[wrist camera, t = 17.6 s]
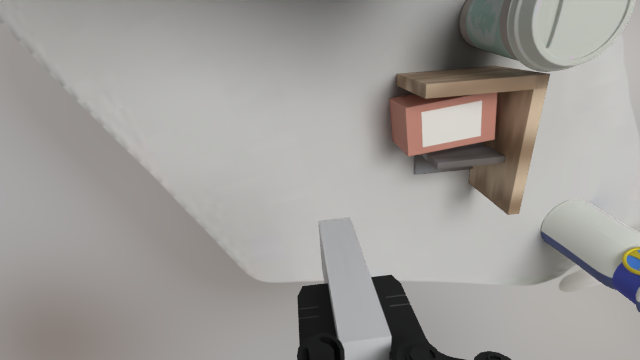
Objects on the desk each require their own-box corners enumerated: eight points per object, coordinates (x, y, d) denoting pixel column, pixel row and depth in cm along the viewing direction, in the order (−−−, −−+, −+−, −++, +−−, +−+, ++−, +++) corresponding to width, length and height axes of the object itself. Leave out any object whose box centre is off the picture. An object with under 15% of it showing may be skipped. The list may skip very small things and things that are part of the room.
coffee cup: (485, -52, 30) (596, -100, 20) (543, 2, 33) (670, -13, 22) (429, 32, 33) (499, 31, 22) (487, 77, 36) (575, 95, 25)
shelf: (396, 74, 34) (426, 84, 27) (495, 65, 35) (549, 73, 28) (393, 190, 40) (416, 224, 33) (477, 181, 41) (518, 213, 34)
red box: (389, 97, 36) (405, 108, 31) (468, 82, 36) (497, 90, 31) (392, 140, 38) (408, 156, 33) (467, 125, 38) (494, 139, 33)
